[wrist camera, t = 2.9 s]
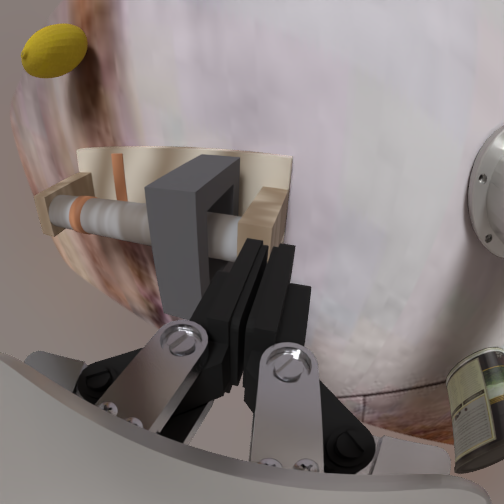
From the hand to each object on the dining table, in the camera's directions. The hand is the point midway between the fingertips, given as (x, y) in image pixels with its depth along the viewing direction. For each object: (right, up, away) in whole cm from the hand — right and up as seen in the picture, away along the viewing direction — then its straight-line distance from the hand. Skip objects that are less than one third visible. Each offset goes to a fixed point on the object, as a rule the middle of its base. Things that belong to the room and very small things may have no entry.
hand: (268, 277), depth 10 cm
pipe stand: (-8, +6, +15) cm, 18 cm away
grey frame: (-3, +4, +12) cm, 13 cm away
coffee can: (+31, -15, +17) cm, 38 cm away
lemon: (-17, +21, +9) cm, 29 cm away
